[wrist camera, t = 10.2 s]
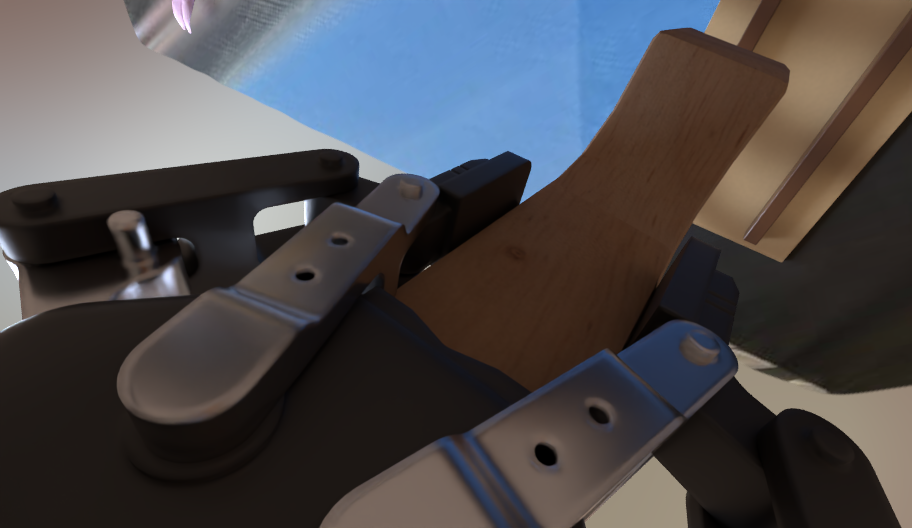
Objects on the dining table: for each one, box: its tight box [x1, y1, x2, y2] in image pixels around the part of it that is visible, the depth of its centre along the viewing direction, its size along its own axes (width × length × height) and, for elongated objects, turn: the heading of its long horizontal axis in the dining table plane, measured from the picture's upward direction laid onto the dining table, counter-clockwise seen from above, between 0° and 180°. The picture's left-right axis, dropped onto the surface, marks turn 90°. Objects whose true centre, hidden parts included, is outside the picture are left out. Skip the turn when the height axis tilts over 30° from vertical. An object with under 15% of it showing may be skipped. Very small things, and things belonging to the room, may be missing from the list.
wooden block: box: [395, 28, 790, 392], centre depth 13 cm, size 9×4×18 cm, turn 163°
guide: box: [693, 0, 912, 262], centre depth 29 cm, size 18×13×2 cm
